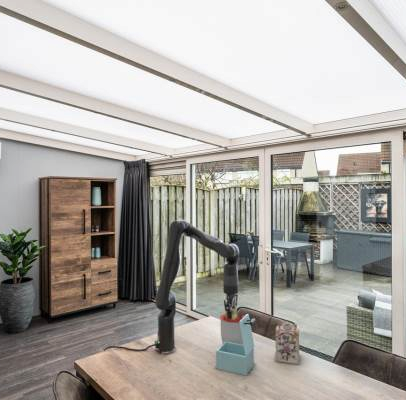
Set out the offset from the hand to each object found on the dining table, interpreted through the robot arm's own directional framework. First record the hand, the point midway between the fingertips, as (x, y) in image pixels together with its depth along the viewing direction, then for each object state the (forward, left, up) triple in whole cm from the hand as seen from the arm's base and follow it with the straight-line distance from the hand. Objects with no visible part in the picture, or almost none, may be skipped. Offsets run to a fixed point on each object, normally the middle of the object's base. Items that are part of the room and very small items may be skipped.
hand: (231, 317), depth 167 cm
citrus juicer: (+11, +21, -25) cm, 34 cm away
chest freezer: (+2, -1, -25) cm, 25 cm away
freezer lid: (+6, -5, -8) cm, 11 cm away
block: (0, 0, 0) cm, 0 cm away
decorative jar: (+32, -1, -25) cm, 40 cm away
